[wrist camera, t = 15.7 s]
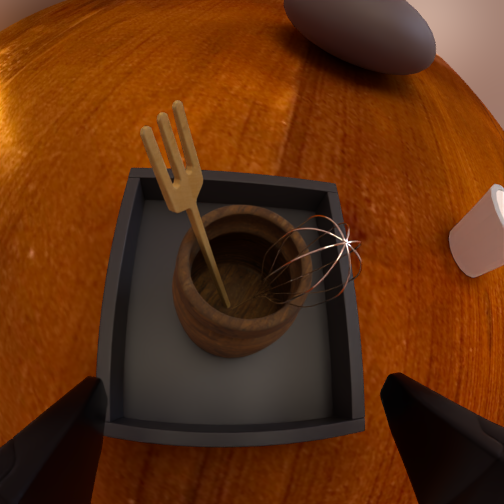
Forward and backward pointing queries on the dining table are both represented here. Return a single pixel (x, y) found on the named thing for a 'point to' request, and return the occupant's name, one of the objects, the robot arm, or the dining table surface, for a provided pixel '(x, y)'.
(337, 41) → the smooth stone
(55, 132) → the dining table surface
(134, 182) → the baking tray
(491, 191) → the shot glass
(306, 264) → the utensil holder
